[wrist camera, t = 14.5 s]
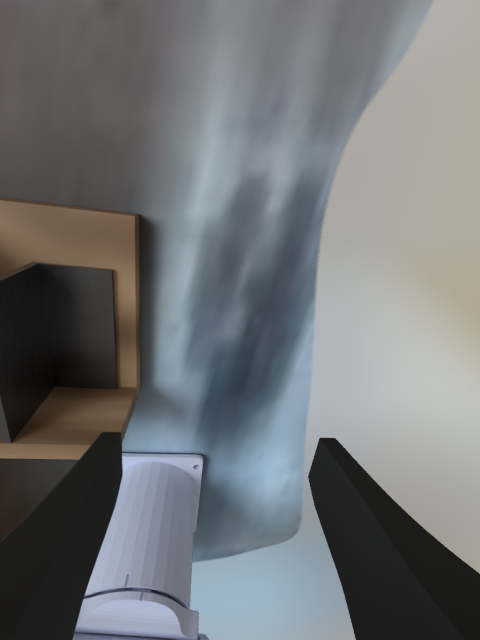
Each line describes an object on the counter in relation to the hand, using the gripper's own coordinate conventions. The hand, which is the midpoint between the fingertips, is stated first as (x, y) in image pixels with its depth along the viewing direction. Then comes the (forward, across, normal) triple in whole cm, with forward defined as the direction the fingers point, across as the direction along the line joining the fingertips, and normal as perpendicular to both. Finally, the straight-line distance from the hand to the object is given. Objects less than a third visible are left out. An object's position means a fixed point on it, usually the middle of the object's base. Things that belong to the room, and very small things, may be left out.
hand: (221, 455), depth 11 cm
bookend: (+9, +8, 0) cm, 12 cm away
